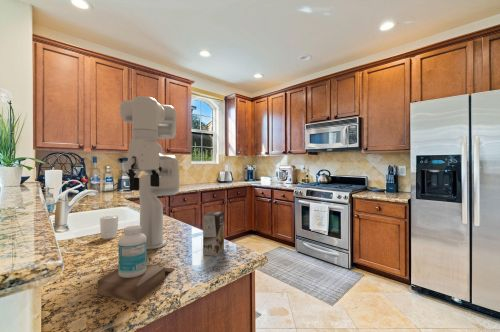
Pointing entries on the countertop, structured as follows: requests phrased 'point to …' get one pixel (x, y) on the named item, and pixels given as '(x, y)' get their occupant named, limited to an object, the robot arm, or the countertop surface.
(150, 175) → the robot arm
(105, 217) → the white cup
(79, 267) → the countertop surface
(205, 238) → the coffee box
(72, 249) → the countertop surface
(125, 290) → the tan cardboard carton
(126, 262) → the pill bottle
